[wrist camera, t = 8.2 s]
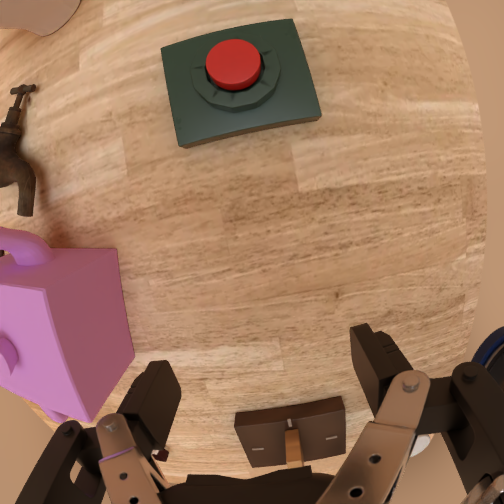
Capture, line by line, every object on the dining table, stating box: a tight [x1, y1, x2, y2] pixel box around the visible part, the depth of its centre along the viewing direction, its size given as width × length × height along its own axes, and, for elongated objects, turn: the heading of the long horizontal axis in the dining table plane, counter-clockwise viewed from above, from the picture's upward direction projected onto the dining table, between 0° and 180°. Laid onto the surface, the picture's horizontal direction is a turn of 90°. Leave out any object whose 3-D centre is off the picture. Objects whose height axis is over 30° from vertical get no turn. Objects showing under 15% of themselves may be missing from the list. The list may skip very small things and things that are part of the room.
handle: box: [285, 429, 304, 469], centre depth 27 cm, size 6×2×5 cm, turn 12°
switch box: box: [161, 19, 322, 149], centre depth 21 cm, size 12×10×4 cm
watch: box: [152, 449, 169, 462], centre depth 33 cm, size 8×5×4 cm, turn 57°
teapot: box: [0, 227, 135, 423], centre depth 22 cm, size 15×25×14 cm, turn 0°
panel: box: [234, 396, 346, 468], centre depth 31 cm, size 13×11×3 cm
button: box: [206, 39, 261, 90], centre depth 18 cm, size 4×4×2 cm
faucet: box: [0, 84, 36, 217], centre depth 22 cm, size 5×17×15 cm
